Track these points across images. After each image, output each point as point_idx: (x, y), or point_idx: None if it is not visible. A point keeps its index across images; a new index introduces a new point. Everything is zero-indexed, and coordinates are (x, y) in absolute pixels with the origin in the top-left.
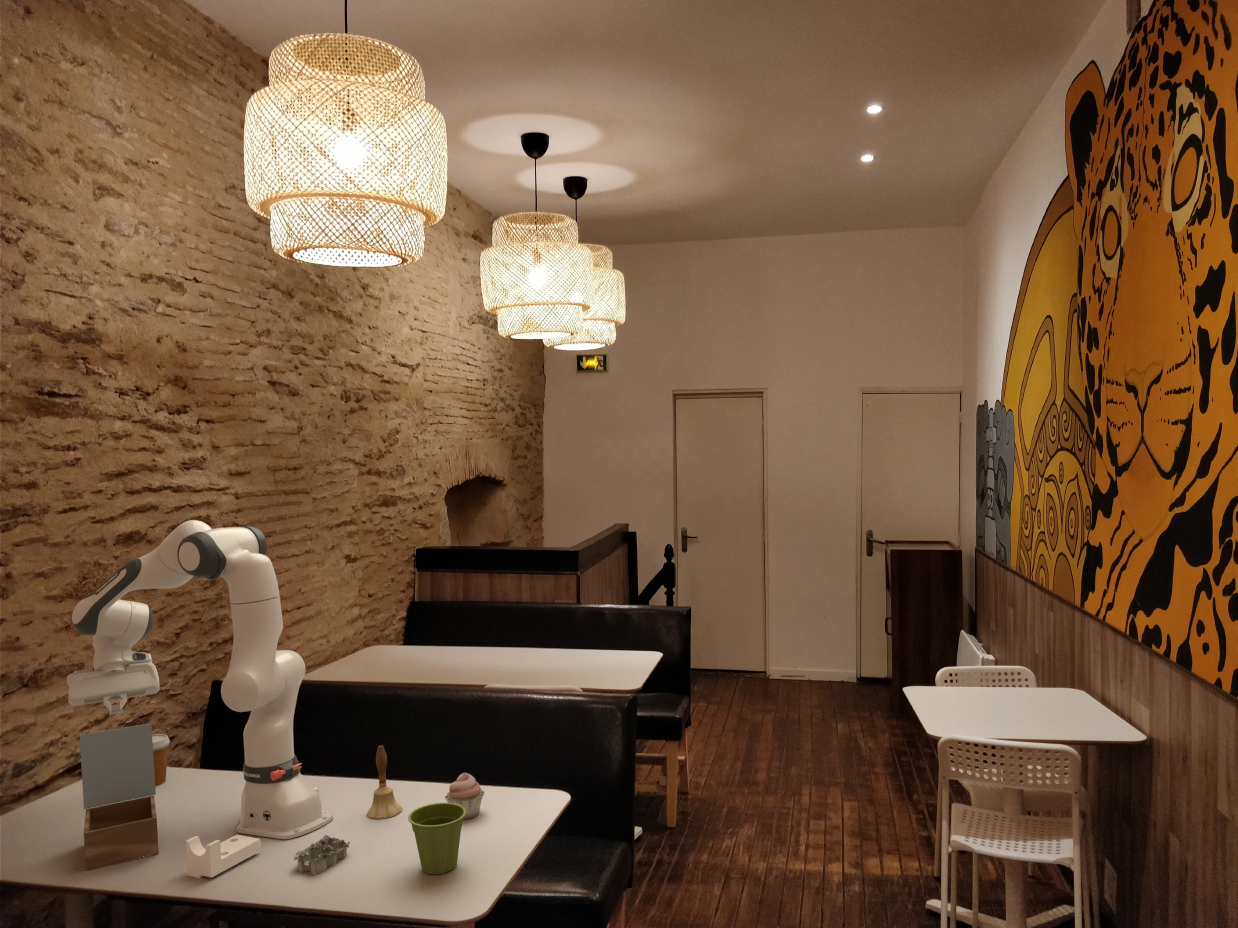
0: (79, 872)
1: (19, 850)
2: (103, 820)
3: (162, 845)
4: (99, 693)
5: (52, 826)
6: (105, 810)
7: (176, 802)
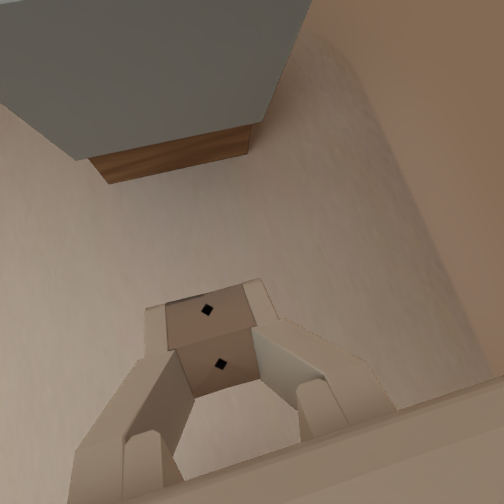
0: None
1: (385, 171)
2: None
3: None
4: (482, 401)
5: (370, 295)
6: None
7: (85, 358)
